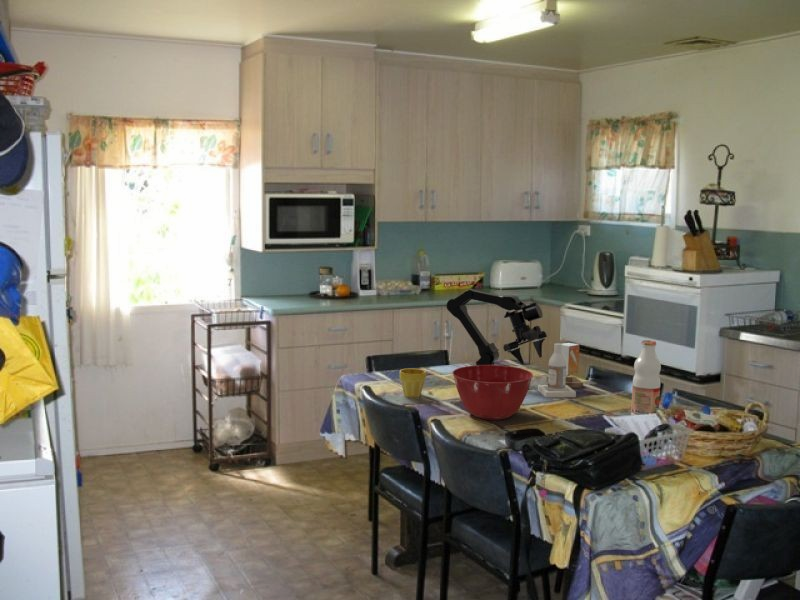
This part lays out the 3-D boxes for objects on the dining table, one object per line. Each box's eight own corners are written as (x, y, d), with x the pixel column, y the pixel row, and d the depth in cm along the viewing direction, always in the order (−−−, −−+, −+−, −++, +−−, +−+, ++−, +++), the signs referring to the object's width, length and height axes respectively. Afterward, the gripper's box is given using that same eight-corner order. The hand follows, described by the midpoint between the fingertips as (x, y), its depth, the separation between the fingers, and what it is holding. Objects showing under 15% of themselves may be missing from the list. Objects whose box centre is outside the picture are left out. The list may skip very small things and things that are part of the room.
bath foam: (543, 393, 331) (545, 343, 329) (554, 390, 336) (556, 341, 334) (557, 396, 326) (559, 346, 324) (568, 393, 331) (570, 344, 329)
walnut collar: (554, 387, 341) (554, 382, 341) (546, 381, 353) (546, 376, 353) (582, 387, 342) (583, 382, 342) (573, 381, 354) (574, 376, 354)
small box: (568, 375, 365) (569, 346, 363) (556, 373, 370) (557, 344, 368) (578, 373, 371) (579, 344, 369) (566, 370, 375) (567, 342, 373)
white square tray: (545, 397, 324) (546, 392, 324) (537, 390, 336) (538, 385, 336) (575, 397, 326) (576, 392, 325) (566, 389, 337) (566, 385, 337)
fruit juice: (627, 415, 300) (631, 338, 296) (652, 415, 300) (657, 339, 297) (635, 422, 291) (640, 343, 287) (662, 422, 291) (666, 343, 287)
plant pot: (426, 398, 318) (427, 373, 317) (400, 398, 318) (400, 373, 316) (424, 392, 329) (424, 368, 327) (398, 392, 328) (398, 368, 327)
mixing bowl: (475, 429, 278) (476, 384, 276) (437, 408, 304) (438, 367, 302) (546, 421, 290) (548, 378, 288) (504, 402, 316) (506, 362, 314)
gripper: (511, 328, 332) (523, 365, 331) (547, 315, 339) (560, 351, 339) (497, 332, 342) (509, 368, 341) (533, 319, 350) (545, 355, 349)
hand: (531, 360), depth 342 cm, fingers open, 9 cm apart
